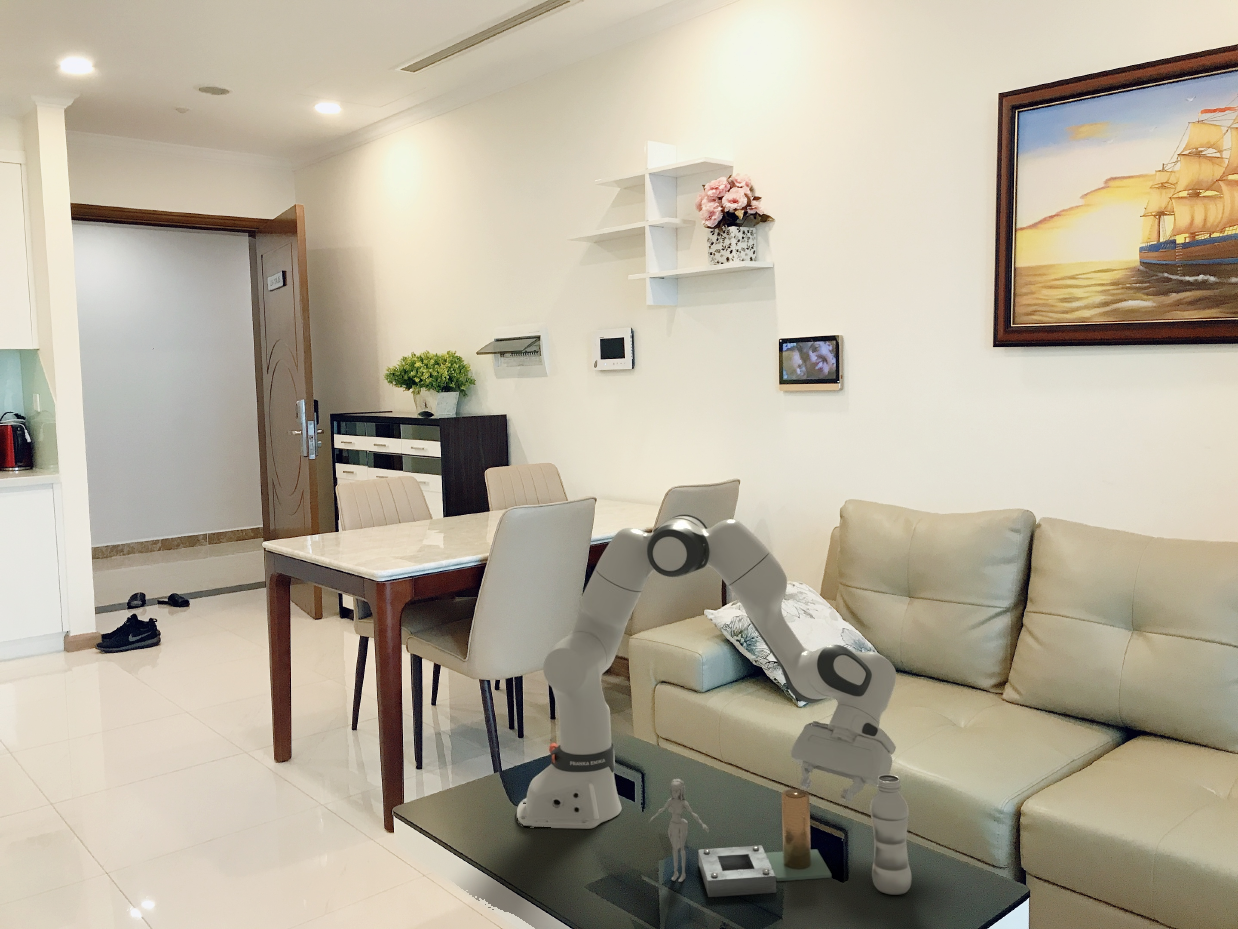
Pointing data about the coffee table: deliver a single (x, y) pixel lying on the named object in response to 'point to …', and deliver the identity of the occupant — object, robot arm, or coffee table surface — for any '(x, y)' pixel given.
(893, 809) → the plastic bottle
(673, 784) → the human figurine
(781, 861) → the mat
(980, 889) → the coffee table surface
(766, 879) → the housing
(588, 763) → the robot arm
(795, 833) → the copper plug
